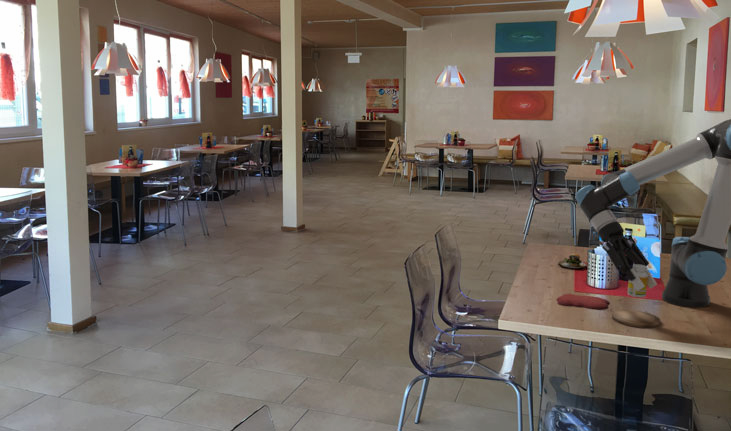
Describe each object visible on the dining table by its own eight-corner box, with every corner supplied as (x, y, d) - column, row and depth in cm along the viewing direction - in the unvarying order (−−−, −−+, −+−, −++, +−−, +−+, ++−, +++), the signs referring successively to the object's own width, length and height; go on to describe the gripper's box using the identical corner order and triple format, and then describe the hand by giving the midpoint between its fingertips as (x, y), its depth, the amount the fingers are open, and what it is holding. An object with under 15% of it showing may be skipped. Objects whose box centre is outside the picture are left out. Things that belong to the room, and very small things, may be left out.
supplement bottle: (624, 295, 196) (627, 265, 194) (630, 291, 200) (633, 262, 198) (642, 298, 192) (645, 268, 191) (648, 295, 196) (651, 265, 195)
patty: (554, 306, 213) (554, 300, 213) (558, 295, 226) (558, 290, 225) (608, 312, 206) (609, 307, 206) (609, 301, 219) (610, 296, 219)
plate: (639, 312, 206) (639, 308, 206) (669, 325, 192) (670, 321, 192) (602, 315, 202) (603, 311, 202) (631, 329, 189) (632, 324, 189)
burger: (552, 265, 272) (553, 249, 271) (573, 263, 277) (574, 246, 276) (572, 271, 261) (573, 254, 260) (593, 269, 266) (594, 252, 265)
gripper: (618, 231, 211) (657, 290, 200) (581, 235, 202) (619, 297, 190) (633, 218, 206) (674, 277, 194) (595, 222, 197) (636, 284, 185)
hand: (647, 287), depth 192 cm, fingers closed on supplement bottle, 5 cm apart
